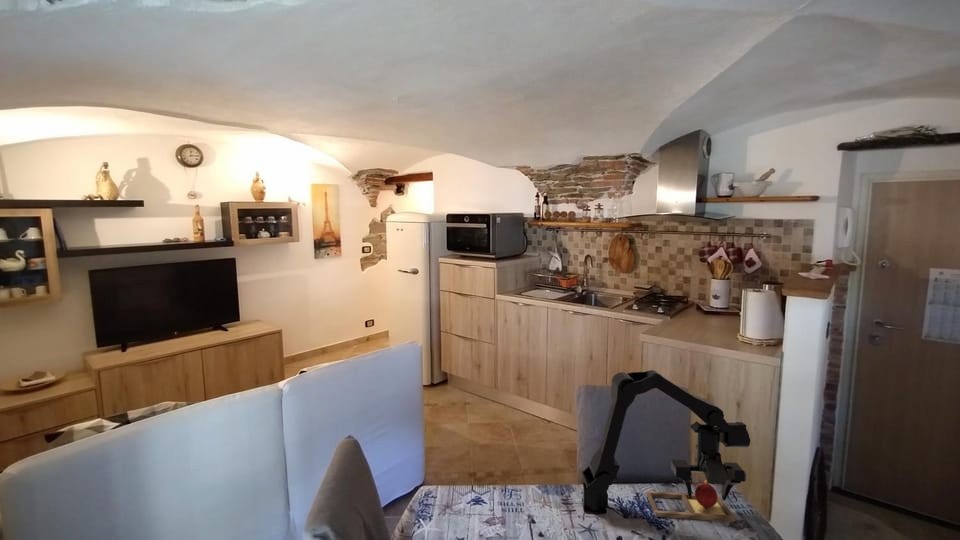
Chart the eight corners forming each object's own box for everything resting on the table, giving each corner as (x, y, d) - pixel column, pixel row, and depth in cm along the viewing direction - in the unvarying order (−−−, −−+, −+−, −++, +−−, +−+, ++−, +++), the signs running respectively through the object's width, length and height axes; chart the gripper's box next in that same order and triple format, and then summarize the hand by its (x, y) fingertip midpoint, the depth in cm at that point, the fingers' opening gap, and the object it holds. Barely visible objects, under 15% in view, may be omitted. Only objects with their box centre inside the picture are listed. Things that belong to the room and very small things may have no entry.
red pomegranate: (719, 515, 128) (720, 487, 127) (697, 512, 129) (698, 485, 129) (713, 503, 134) (714, 476, 133) (692, 501, 135) (693, 475, 134)
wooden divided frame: (655, 516, 128) (655, 512, 128) (646, 494, 139) (646, 490, 139) (734, 521, 125) (734, 517, 125) (719, 499, 136) (719, 495, 136)
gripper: (682, 457, 123) (681, 513, 124) (756, 461, 121) (754, 518, 122) (670, 439, 134) (669, 490, 135) (738, 443, 132) (736, 495, 133)
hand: (706, 498), depth 131 cm, fingers open, 9 cm apart
